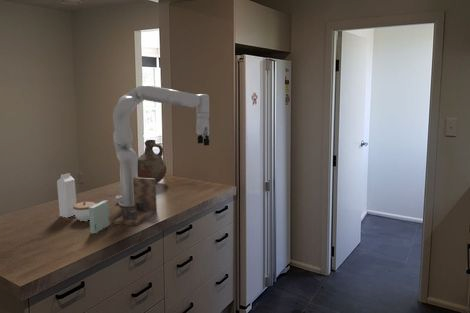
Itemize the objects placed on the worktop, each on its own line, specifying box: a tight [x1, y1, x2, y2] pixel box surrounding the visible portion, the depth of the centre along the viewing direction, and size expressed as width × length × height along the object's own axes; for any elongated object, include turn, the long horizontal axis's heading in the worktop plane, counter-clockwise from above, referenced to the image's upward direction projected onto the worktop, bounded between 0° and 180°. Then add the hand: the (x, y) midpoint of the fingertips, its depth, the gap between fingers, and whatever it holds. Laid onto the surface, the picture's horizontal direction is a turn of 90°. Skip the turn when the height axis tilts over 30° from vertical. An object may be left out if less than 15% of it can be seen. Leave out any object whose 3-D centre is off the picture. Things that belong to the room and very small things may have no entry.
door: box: [89, 199, 111, 234], centre depth 187 cm, size 2×12×12 cm, turn 165°
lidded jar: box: [73, 200, 97, 222], centre depth 200 cm, size 11×11×9 cm
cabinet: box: [113, 177, 158, 226], centre depth 202 cm, size 12×22×18 cm, turn 165°
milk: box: [56, 172, 77, 218], centre depth 205 cm, size 6×6×22 cm
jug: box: [137, 139, 167, 186], centre depth 271 cm, size 22×22×30 cm
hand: (203, 144), depth 241 cm, fingers open, 9 cm apart
